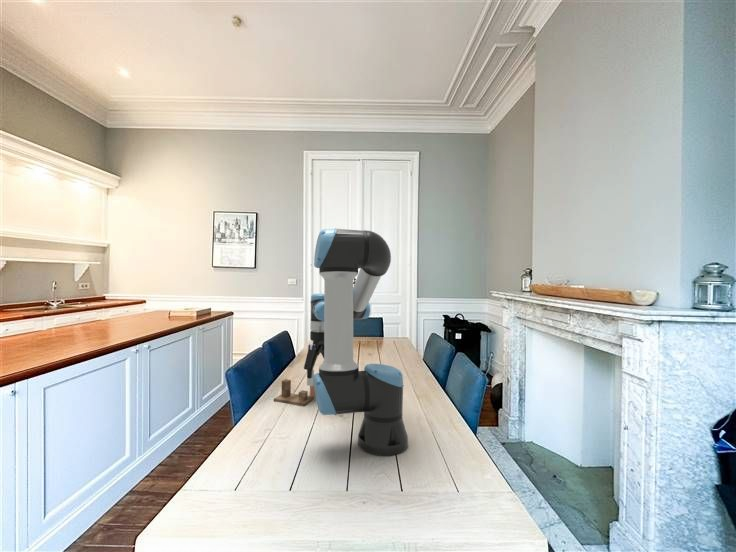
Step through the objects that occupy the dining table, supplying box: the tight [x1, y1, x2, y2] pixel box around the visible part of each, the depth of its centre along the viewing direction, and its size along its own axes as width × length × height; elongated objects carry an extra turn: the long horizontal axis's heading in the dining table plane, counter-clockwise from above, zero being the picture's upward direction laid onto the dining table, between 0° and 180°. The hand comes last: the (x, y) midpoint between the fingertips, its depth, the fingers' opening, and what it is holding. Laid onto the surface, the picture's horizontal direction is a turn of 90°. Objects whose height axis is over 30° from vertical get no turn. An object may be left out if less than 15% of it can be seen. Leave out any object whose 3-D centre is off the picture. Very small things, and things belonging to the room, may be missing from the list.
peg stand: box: [273, 378, 316, 407], centre depth 139 cm, size 14×8×8 cm, turn 69°
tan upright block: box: [309, 386, 316, 398], centre depth 145 cm, size 5×5×7 cm
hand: (318, 380), depth 145 cm, fingers open, 13 cm apart
